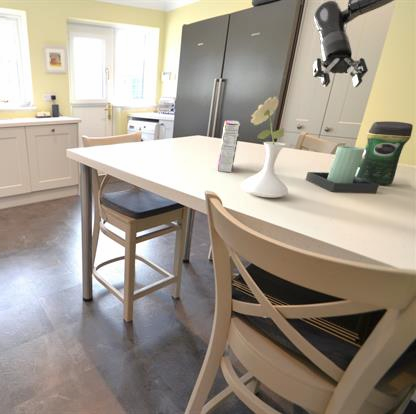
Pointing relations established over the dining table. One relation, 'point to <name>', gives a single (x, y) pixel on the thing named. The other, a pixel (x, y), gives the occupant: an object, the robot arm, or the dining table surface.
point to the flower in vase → (267, 157)
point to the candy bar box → (228, 146)
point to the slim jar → (345, 164)
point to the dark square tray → (342, 184)
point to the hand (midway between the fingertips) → (342, 84)
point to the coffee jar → (383, 151)
